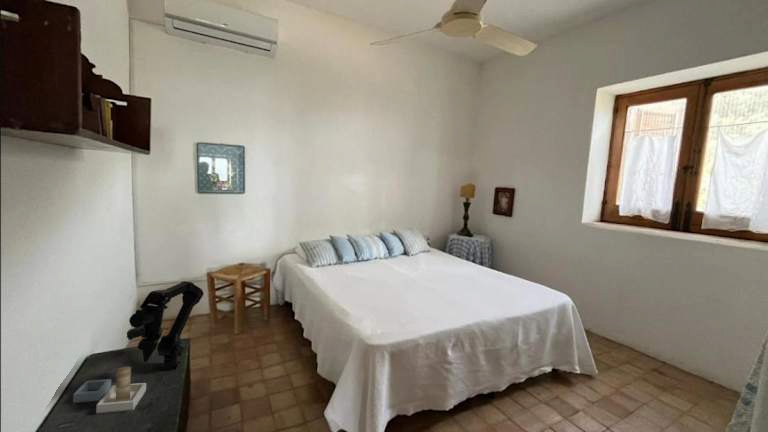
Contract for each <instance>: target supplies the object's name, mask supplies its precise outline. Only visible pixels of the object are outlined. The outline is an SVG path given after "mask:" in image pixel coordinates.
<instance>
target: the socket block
mask: <svg viewBox="0 0 768 432" xmlns="http://www.w3.org/2000/svg"><path fill="white" fill-rule="evenodd" d="M111 387H112V378H107V379H93V380H92V379H91V380H90V379H89V380H86V381H85V382H84V383H83V384H82V385H81V386H79V388H78V389H77V390H76V391H75V392H74V393H73V394H72V395H73V399H72V400H73V403H76V404H77V403H87V402H88V403H89V402H100V400H101V399H102V398H103V397H104V396H105V394H106V393H107V392H108V391H109V389H110V388H111Z"/></svg>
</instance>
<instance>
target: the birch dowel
mask: <svg viewBox="0 0 768 432" xmlns="http://www.w3.org/2000/svg"><path fill="white" fill-rule="evenodd" d="M115 373H116V376H115V377H116V379H115V383H116V384H115V385H116V402H123V401H128V400H129V399H130V384H132V383H131V380H132V367H131V366H128V365H127V366H122V367H119V368H117V369H116V372H115Z"/></svg>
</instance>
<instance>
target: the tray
mask: <svg viewBox="0 0 768 432" xmlns="http://www.w3.org/2000/svg"><path fill="white" fill-rule="evenodd" d="M146 391H147V382H140V383H131V384H130V399H129V400H128V401H123V402H116V384H113V385H111V387H110V389H109V390H108V391H107V392H106V394H105V395H104V396H103V397H102V398H101V400H100V401H98V403H97V404H96V412H95V413H96V415H97V414H109V413H118V412H128V411H129V412H130V411H134V410H135V408H136V407H137V405H138V403H139V402H140V400H141V399H142V397H143V396H144V395H145V394H146V393H145V392H146Z"/></svg>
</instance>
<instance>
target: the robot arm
mask: <svg viewBox="0 0 768 432" xmlns="http://www.w3.org/2000/svg"><path fill="white" fill-rule="evenodd" d="M181 294H182V296H181V299H182V305H181V306H180V309H179V312H178V313H177V316H176V318H175V320H174V322H173V325H172V326H171V328H170V330H169V332H168V334H166V335H163V336H162V334H163V331H164V330H163V329H164V328H163V327H162V325H163V319H164V312H165V310H166V309H168V308H169V307H168V305H167V304H168V303H170V302H171V300H172V299H173V298H175V297H177V296H179V295H181ZM203 296H204V291H203V289H202V288H200V287H199V286H197V285H196V284H194V283H193V282H191V281H185V280H183V281H181V282H180V283H178V284H175V285H173V286H169V287H168V288H166V289H157V290H153V291H152V290H151V291H150V292H149V293H148V294H147V296H146V297H145V299H144V300H143V302H142V303H141V305H140V306H139V309H137V310H135V313H133V314H132V315H131V316H130V318H129V319H128V320H129V325H130V326H131V327H132V328H131V329H128V330H127V332H126V338H127V340H128V341H131V340H133V339H136V338H139V337H141V338H142V339H140V340H139V342H138V343H137V349H138V350H139V351H140V350H141V352H142V356H143V357H142V358H143V363H147V362H148V361H149V359H150V358H151V357H152V355H153V353H154V351H155V350H156V351H157V353H158V356H160V357H161V356H163V363H162V366H161V368H160V369H159V370H160V371H173V370H174V371H176V370H177V369H178V367H179V366H180V363H181V360H179V357H181V356H182V354H183V353H184V350H185V348H184V347H183V346H181V344H182V339H181V335H182V333H183V331H184V329H185V326H186V324H187V321H188V320H189V317H190V315H191V312H192V311H193V309H194V307H195V306H196V305H197V304H198V303H200V301H201V300H202V298H203ZM160 338H161V339H160ZM158 342H159V343H158Z"/></svg>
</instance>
